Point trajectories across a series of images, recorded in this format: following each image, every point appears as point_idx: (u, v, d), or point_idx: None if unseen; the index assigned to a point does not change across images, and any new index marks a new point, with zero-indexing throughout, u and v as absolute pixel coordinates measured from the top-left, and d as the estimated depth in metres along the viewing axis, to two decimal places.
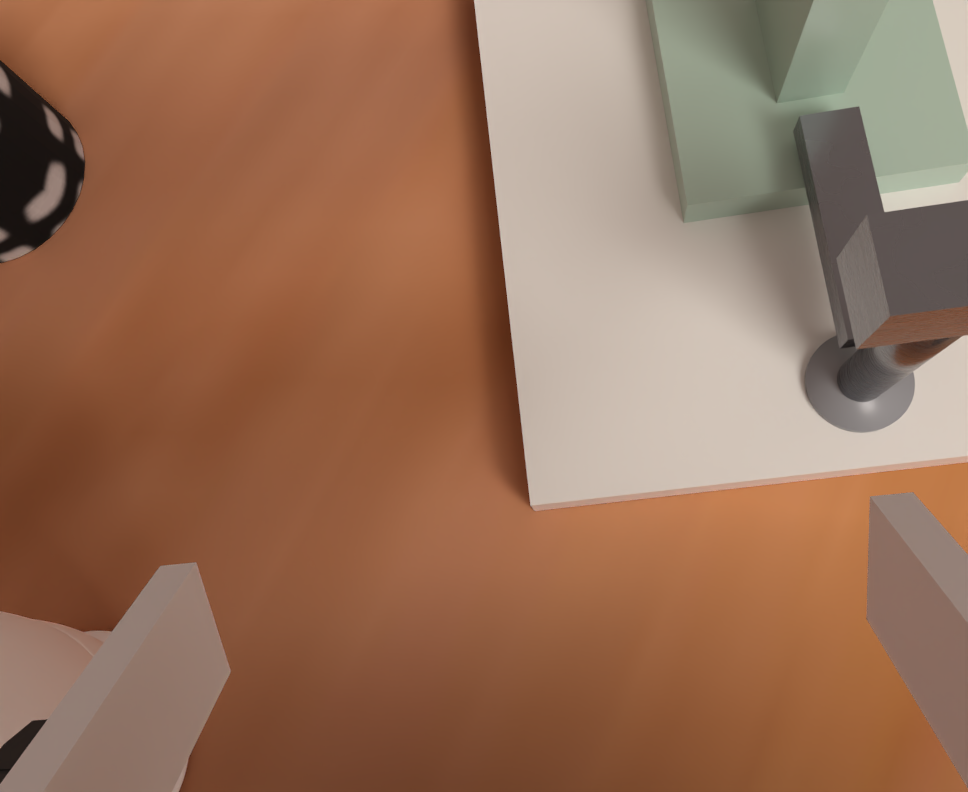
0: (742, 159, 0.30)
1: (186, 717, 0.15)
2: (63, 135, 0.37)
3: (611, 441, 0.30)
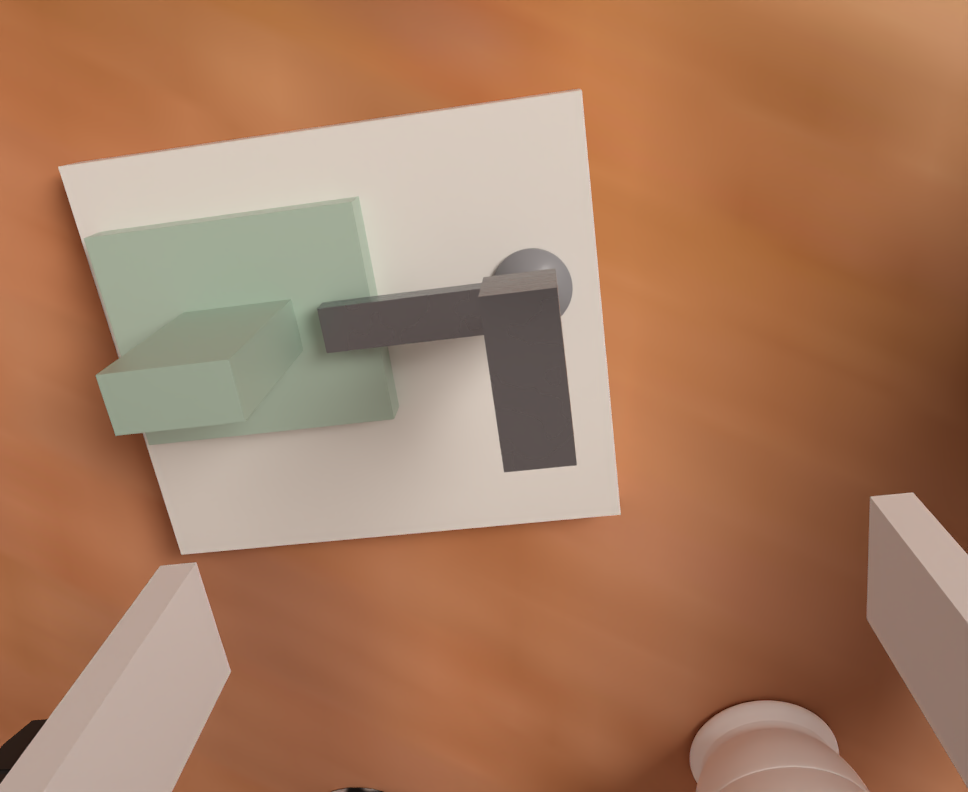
0: (354, 378, 0.38)
1: (186, 717, 0.15)
2: None
3: None
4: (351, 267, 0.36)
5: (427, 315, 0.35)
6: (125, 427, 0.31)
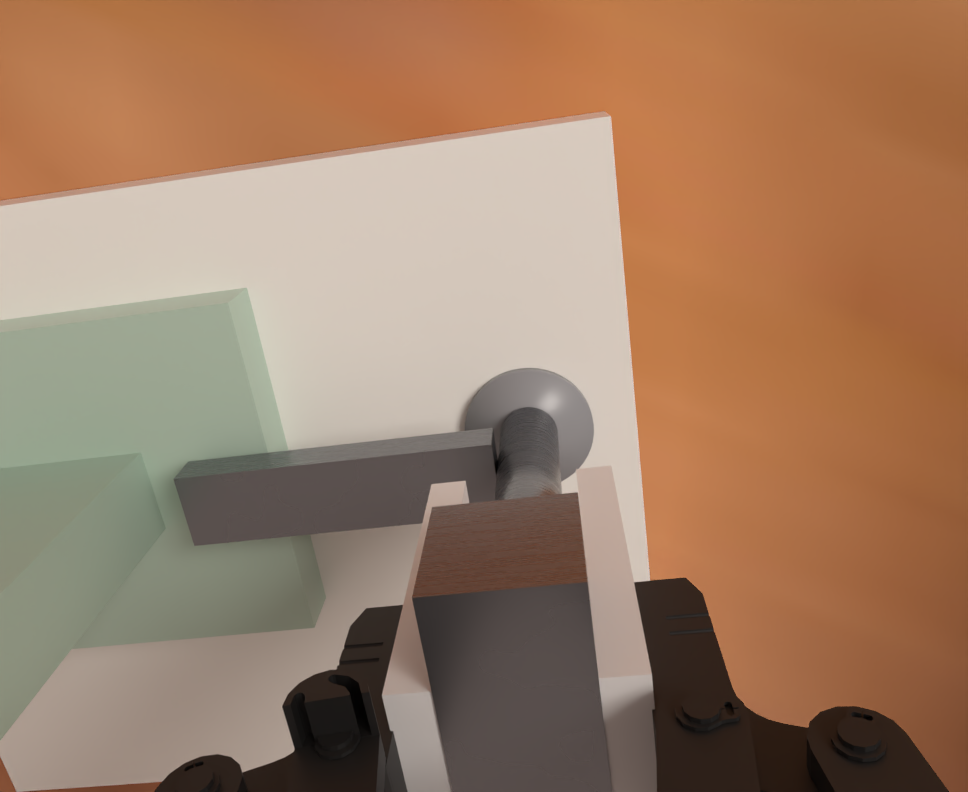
0: (249, 569, 0.24)
1: None
2: None
3: None
4: (234, 405, 0.22)
5: (356, 489, 0.21)
6: None
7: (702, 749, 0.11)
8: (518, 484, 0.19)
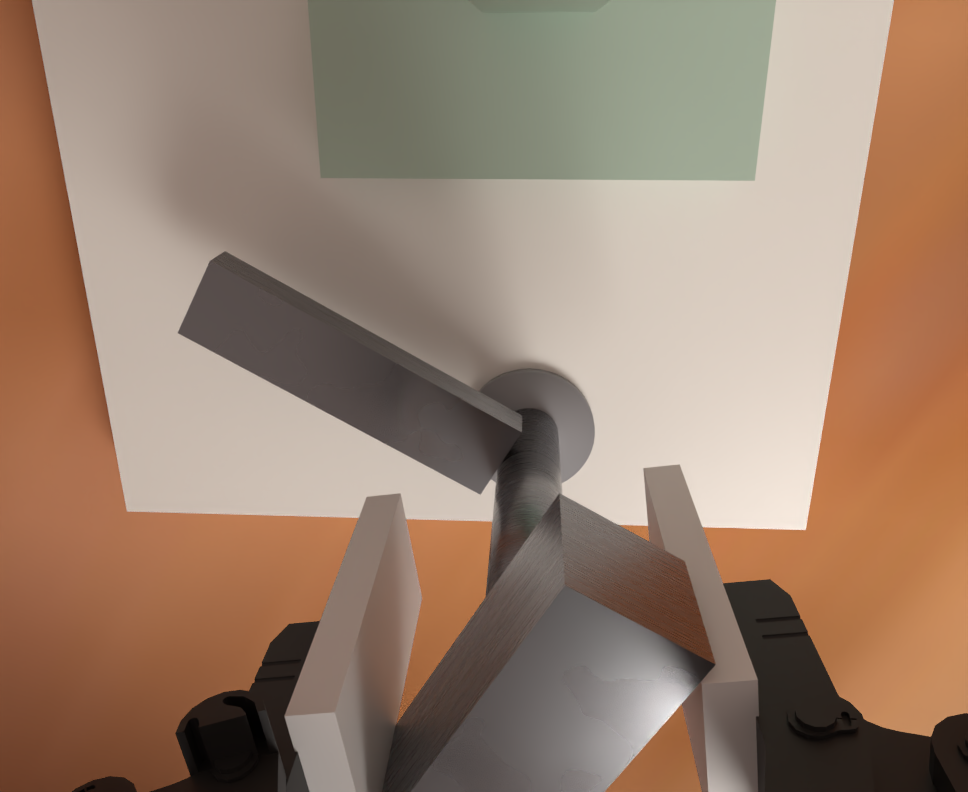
0: (412, 112, 0.19)
1: (404, 630, 0.17)
2: None
3: (223, 455, 0.24)
4: (634, 154, 0.19)
5: (373, 388, 0.20)
6: None
7: (814, 757, 0.10)
8: (542, 487, 0.19)
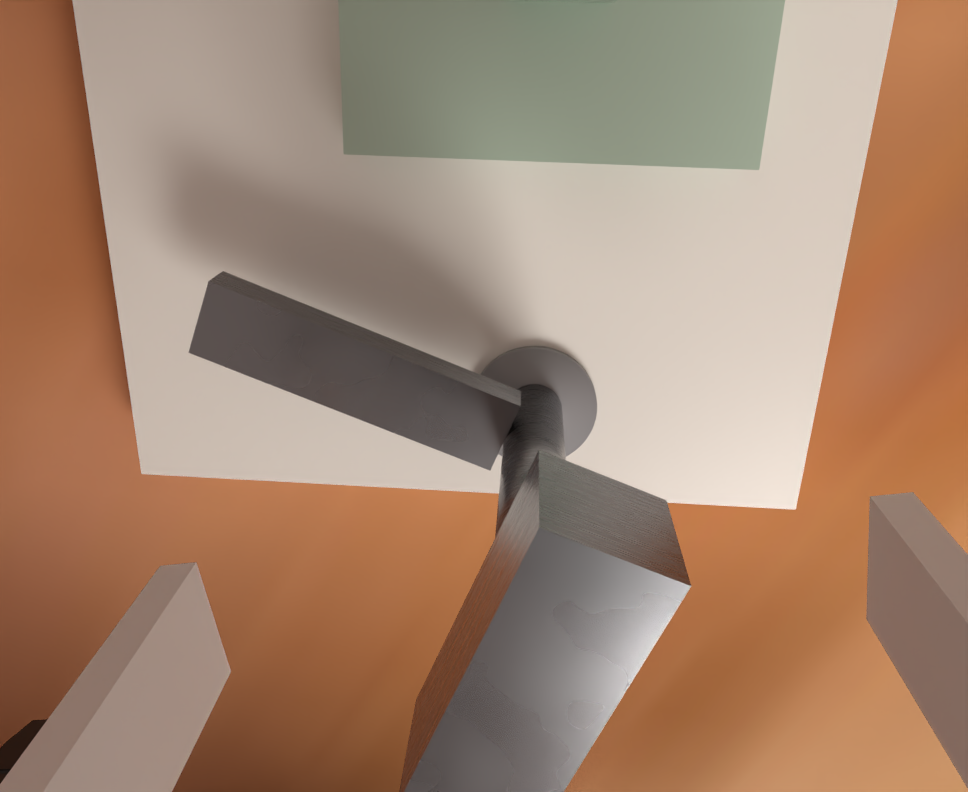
0: (434, 94, 0.20)
1: (186, 717, 0.15)
2: None
3: (237, 421, 0.25)
4: (645, 141, 0.20)
5: (376, 382, 0.21)
6: None
7: None
8: None
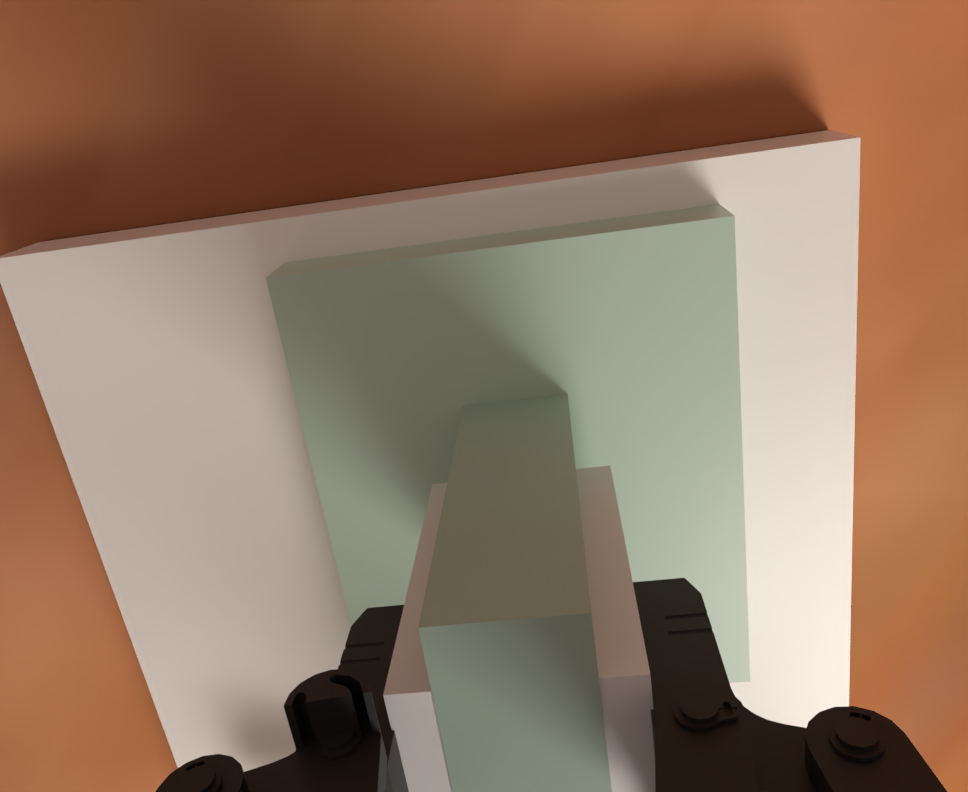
0: None
1: None
2: None
3: None
4: None
5: None
6: (444, 654, 0.12)
7: (700, 749, 0.11)
8: None
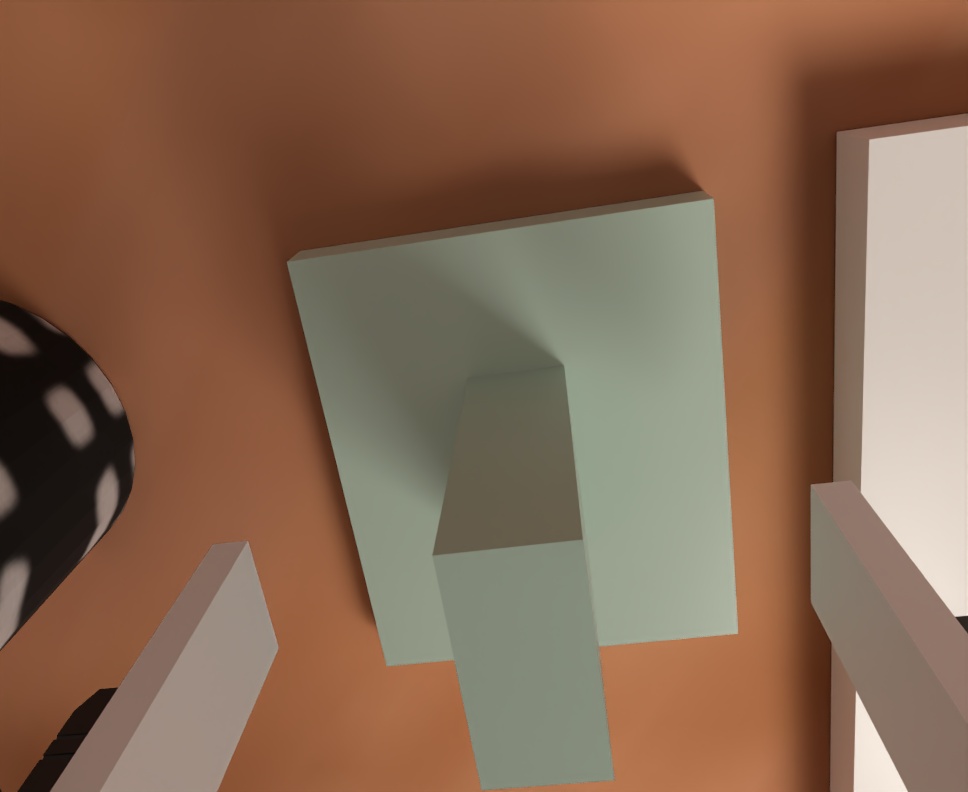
0: None
1: (242, 689, 0.16)
2: (89, 416, 0.21)
3: None
4: (636, 626, 0.23)
5: None
6: (456, 579, 0.13)
7: None
8: None
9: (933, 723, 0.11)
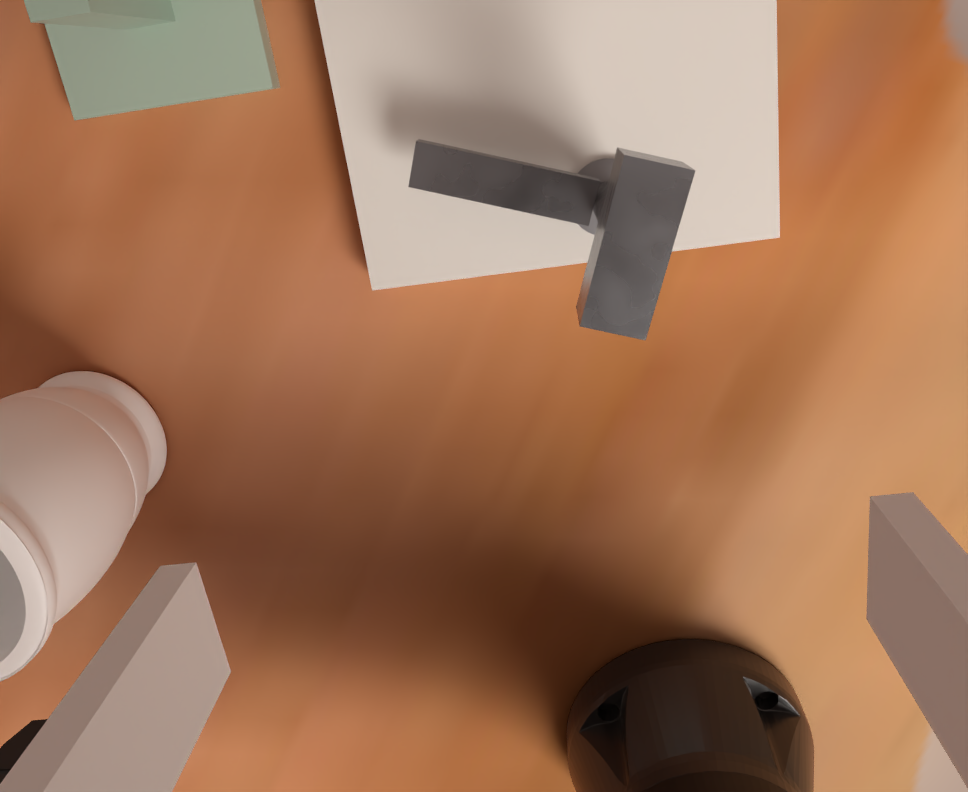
0: (108, 81, 0.40)
1: (186, 717, 0.15)
2: None
3: (427, 243, 0.41)
4: (214, 85, 0.39)
5: (515, 183, 0.37)
6: None
7: None
8: None
9: None
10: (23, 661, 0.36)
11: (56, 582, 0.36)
